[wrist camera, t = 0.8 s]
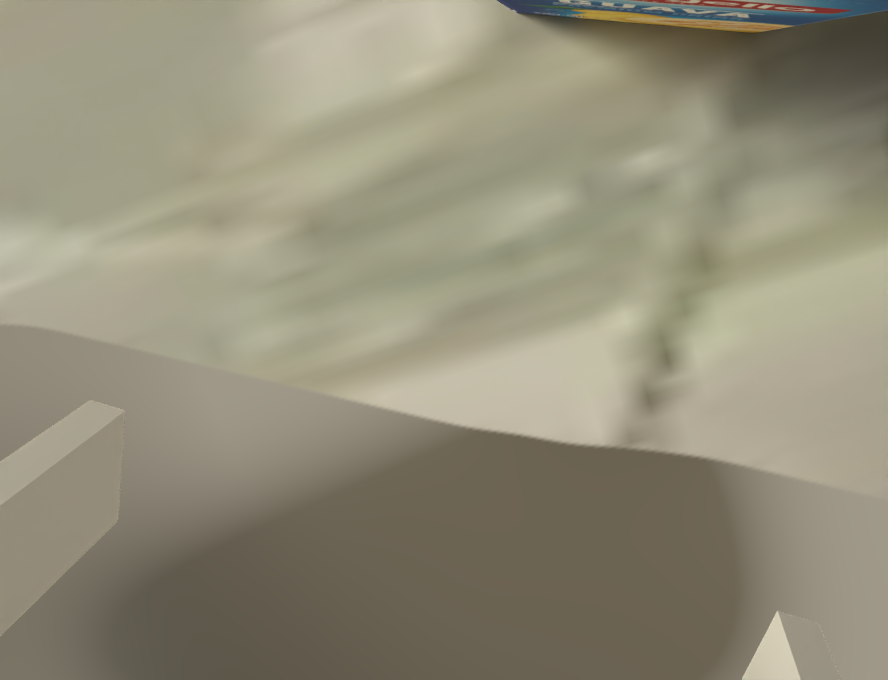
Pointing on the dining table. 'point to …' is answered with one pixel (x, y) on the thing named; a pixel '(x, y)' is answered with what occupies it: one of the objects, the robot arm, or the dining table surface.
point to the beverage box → (704, 11)
